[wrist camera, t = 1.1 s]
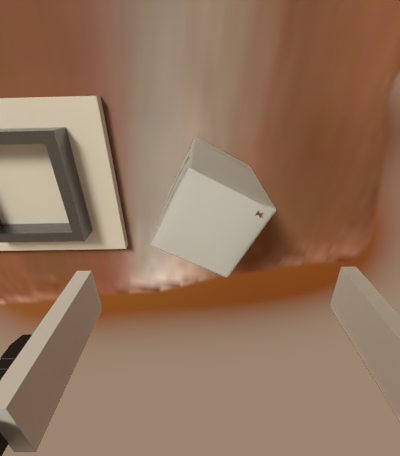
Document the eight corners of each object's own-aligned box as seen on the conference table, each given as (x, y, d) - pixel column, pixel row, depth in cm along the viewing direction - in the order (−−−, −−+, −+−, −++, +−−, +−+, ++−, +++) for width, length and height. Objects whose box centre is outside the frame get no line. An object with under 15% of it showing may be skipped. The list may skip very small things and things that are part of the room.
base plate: (-90, 100, 26) (-103, 101, 25) (100, 95, 26) (96, 95, 25) (-16, 246, 35) (-23, 251, 34) (128, 244, 35) (125, 248, 34)
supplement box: (194, 134, 28) (189, 162, 17) (251, 165, 29) (281, 211, 18) (166, 190, 31) (147, 246, 20) (219, 216, 33) (228, 281, 21)
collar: (-51, 130, 27) (-74, 133, 24) (66, 127, 26) (53, 130, 24) (-3, 232, 32) (-18, 242, 30) (92, 230, 32) (84, 241, 30)
